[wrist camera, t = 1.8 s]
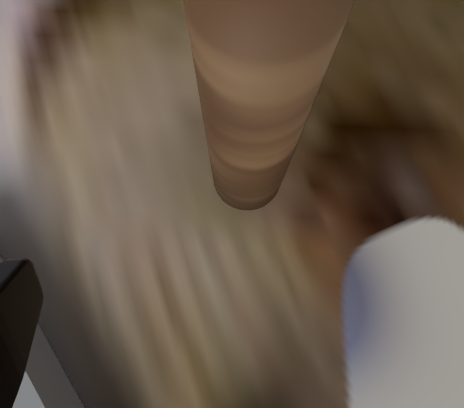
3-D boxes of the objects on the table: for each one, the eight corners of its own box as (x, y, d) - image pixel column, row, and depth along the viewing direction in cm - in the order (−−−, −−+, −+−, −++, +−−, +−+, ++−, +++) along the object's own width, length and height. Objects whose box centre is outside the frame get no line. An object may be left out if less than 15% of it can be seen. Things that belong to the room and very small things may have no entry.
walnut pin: (293, 186, 20) (393, -2, 8) (237, 223, 20) (246, 89, 7) (255, 133, 21) (289, -122, 8) (200, 168, 21) (147, -43, 8)
